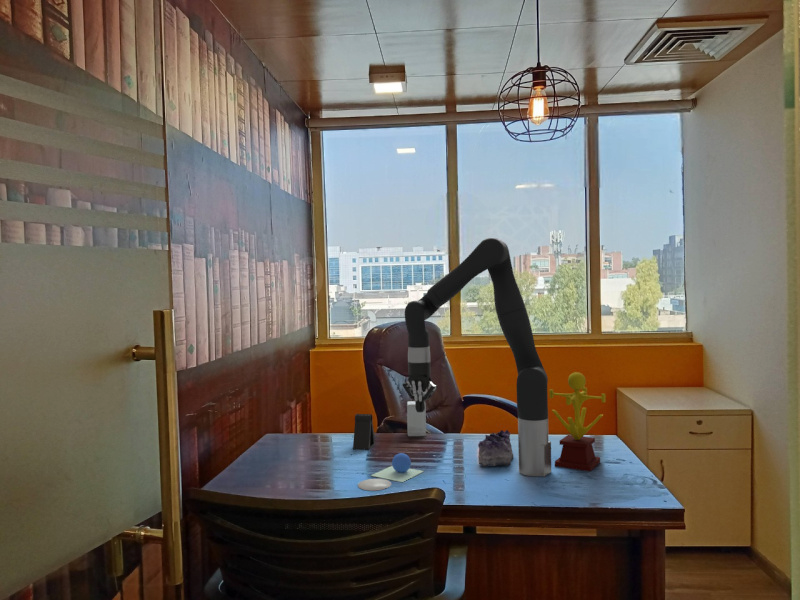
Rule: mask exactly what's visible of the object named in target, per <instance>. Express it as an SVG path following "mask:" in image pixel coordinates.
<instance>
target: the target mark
mask: <svg viewBox="0 0 800 600" xmlns="http://www.w3.org/2000/svg"><path fill="white" fill-rule="evenodd" d="M422 473H424V470H419V469H415V468H411V467H410V468H409V470H408V471H406V472H404V473H399V472H397V471H395V469H394V468H393V466H392V465H390V466H388V467H385V468H384V469H381V470H379V471H377V472H376V473H373V474H371V475H370V476H371V477H374V478H377V479H385V480H388V481H392V482H393V481H394V482H399V483H402V482H403V483H404V481H405V482H406V480H407V481H408V479H409V480H411V479H412V478H415V477H416V476H418V475H420V474H422ZM410 478H411V479H410Z"/></svg>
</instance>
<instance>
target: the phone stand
mask: <svg viewBox="0 0 800 600" xmlns="http://www.w3.org/2000/svg"><path fill="white" fill-rule="evenodd" d="M353 429H354V431H353V441H352V442H353V443H352V444H353V445H352V450H360V451H362V450H363V451H369V450H371V449H372V448H373V447H374V446H375V445H376V437H375V431H374V423H373V415H372V414H371V413H355V415H354V428H353Z"/></svg>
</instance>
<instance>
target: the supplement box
mask: <svg viewBox="0 0 800 600" xmlns="http://www.w3.org/2000/svg"><path fill="white" fill-rule="evenodd" d="M426 406H427V405H426V404H425V410H424V411H423V412H417V410H416V407H415V400H413V401H412V400H411V401H407V405H406V414H407V415H406V418H407V422H406V425H407V427H406V428H407V431H406V432H407V436H408V437H425V436H427V419H426V415H427V412H426V411H427V410H426V409H427V407H426Z"/></svg>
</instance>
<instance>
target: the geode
mask: <svg viewBox="0 0 800 600" xmlns="http://www.w3.org/2000/svg"><path fill="white" fill-rule="evenodd" d="M484 437H485V438H484V439H483V440H480V441H479V443H478V444H477V446H478V457H477V458H478V464H479V465H481V467H483V468H487V467H496V466H497V467H498V466H510V465H511V464H512V460H513V459H514V453H513V449H512V443H511V438H510V437H511V432H510V431H509V430H508V429H505V431H504V430H502V429H501V430H500V431H497V433H495V432H492V433H490V434H489V435H487V434H485V436H484Z"/></svg>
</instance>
